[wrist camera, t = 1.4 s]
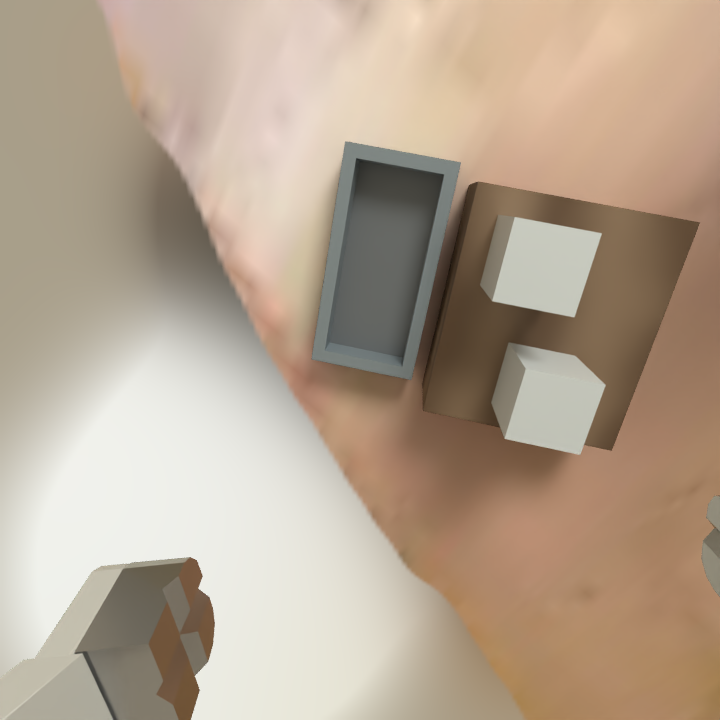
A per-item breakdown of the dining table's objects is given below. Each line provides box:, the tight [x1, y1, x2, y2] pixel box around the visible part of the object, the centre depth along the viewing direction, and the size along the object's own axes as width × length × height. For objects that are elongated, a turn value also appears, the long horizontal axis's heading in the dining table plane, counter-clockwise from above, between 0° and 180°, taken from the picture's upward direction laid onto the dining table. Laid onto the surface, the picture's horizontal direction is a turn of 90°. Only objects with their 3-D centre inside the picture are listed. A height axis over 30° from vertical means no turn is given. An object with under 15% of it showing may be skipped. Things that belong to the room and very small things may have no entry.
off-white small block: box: [491, 342, 606, 455], centre depth 28 cm, size 4×4×5 cm
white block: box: [480, 215, 602, 317], centre depth 26 cm, size 4×4×5 cm
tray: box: [312, 141, 461, 380], centre depth 33 cm, size 7×14×2 cm, turn 170°
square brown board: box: [422, 182, 700, 451], centre depth 31 cm, size 12×14×5 cm
